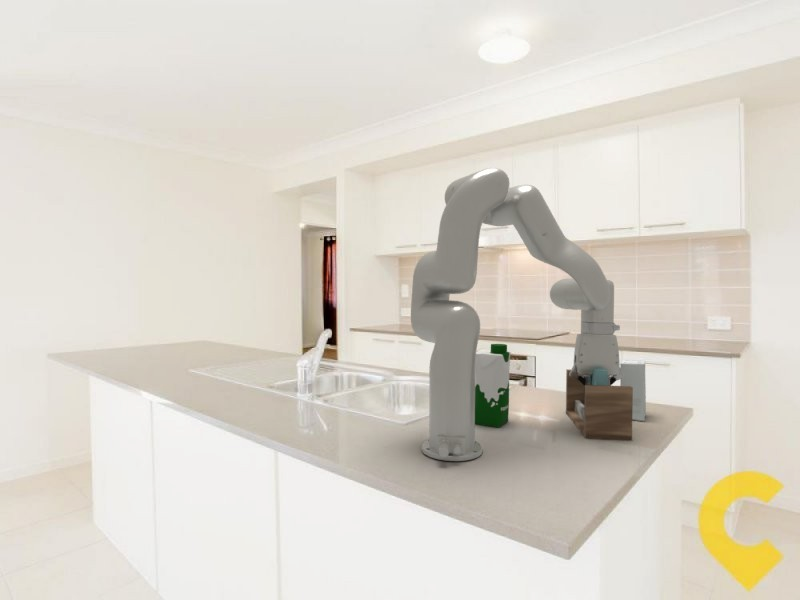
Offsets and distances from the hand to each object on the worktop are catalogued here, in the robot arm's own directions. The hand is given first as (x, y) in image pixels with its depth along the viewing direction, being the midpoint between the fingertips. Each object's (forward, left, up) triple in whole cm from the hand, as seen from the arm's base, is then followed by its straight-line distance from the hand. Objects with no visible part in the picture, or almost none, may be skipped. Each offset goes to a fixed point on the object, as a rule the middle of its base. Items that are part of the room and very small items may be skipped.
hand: (595, 402), depth 119 cm
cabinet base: (0, 0, -6) cm, 6 cm away
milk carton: (-1, +26, -6) cm, 27 cm away
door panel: (0, 0, -3) cm, 3 cm away
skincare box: (+10, -12, -6) cm, 17 cm away
